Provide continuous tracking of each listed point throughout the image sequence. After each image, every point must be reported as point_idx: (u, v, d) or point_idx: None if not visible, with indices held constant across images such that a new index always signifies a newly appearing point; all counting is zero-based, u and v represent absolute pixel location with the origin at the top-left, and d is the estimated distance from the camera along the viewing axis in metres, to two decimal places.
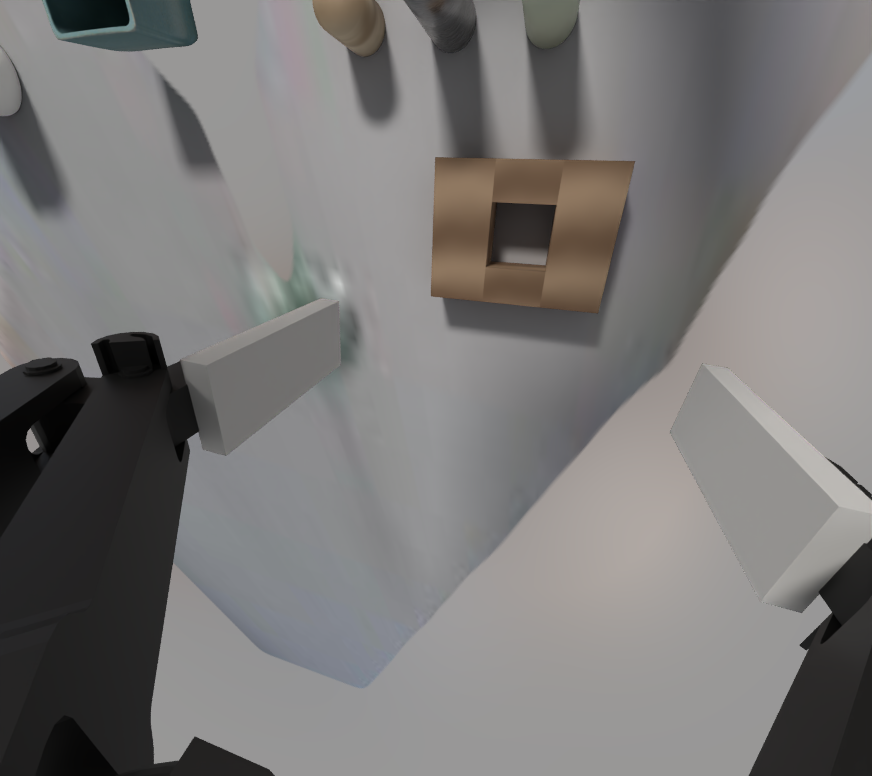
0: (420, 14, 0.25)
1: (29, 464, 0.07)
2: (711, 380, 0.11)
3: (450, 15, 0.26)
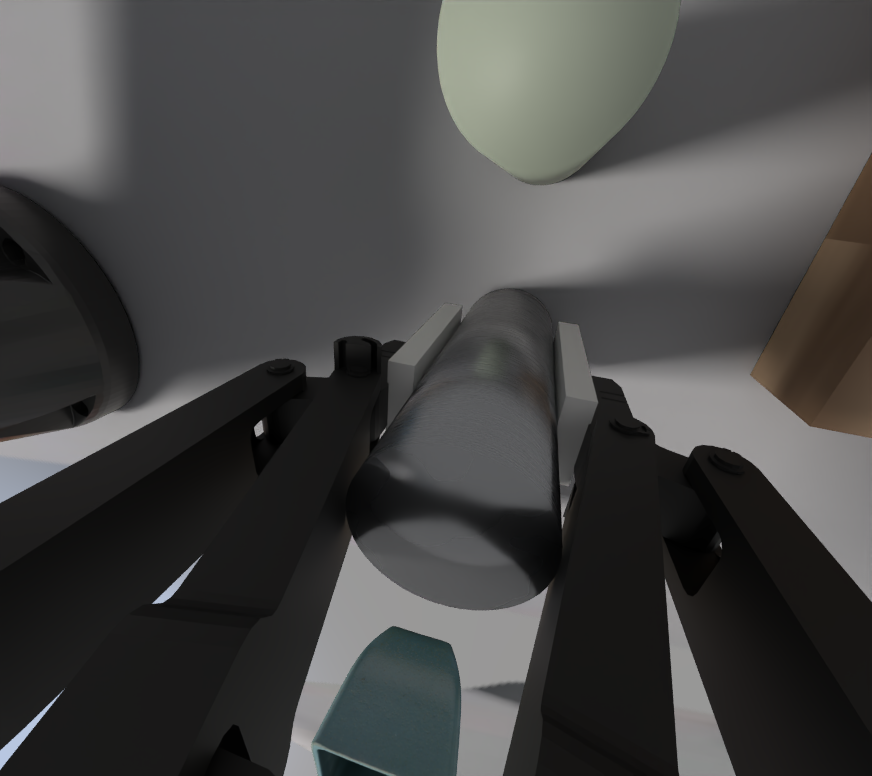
0: None
1: (248, 456, 0.08)
2: (558, 332, 0.14)
3: (548, 361, 0.11)
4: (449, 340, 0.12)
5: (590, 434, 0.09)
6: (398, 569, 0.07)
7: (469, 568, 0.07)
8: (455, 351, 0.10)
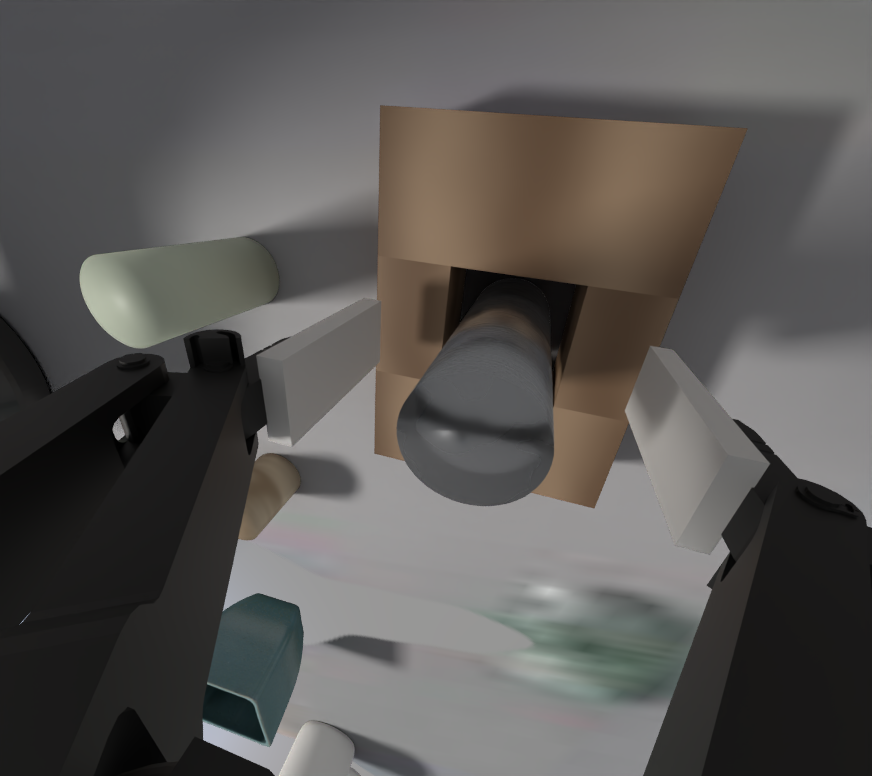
0: None
1: (113, 454, 0.08)
2: (655, 360, 0.12)
3: (545, 332, 0.14)
4: (464, 317, 0.15)
5: (764, 498, 0.07)
6: (434, 476, 0.10)
7: (487, 470, 0.10)
8: (472, 322, 0.13)
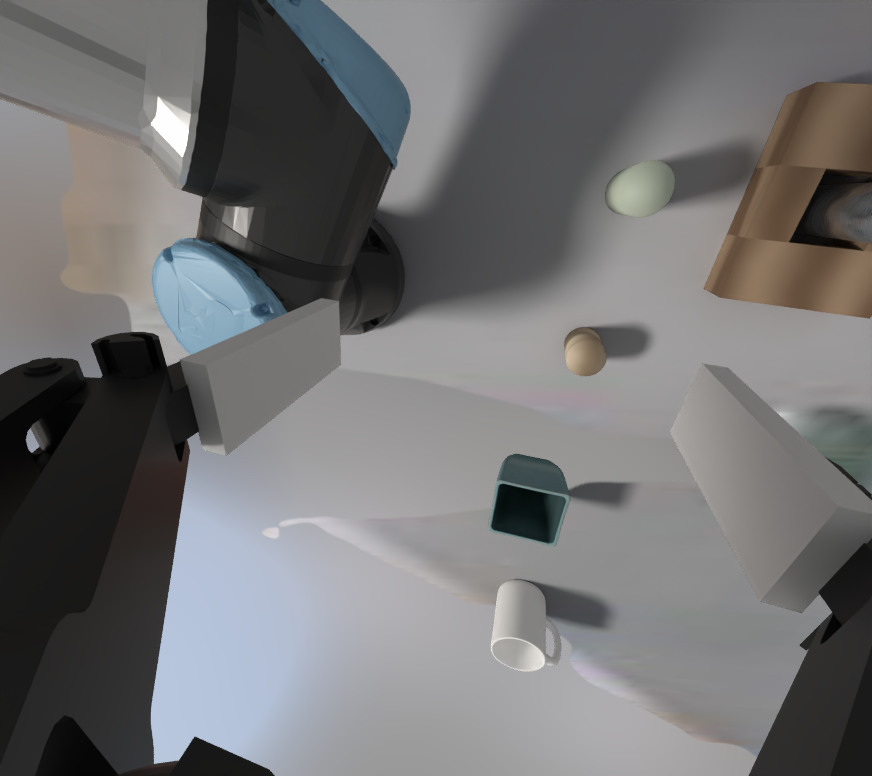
0: None
1: (29, 464, 0.07)
2: (711, 380, 0.11)
3: None
4: (839, 193, 0.29)
5: None
6: None
7: None
8: None
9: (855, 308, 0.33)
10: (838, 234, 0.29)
